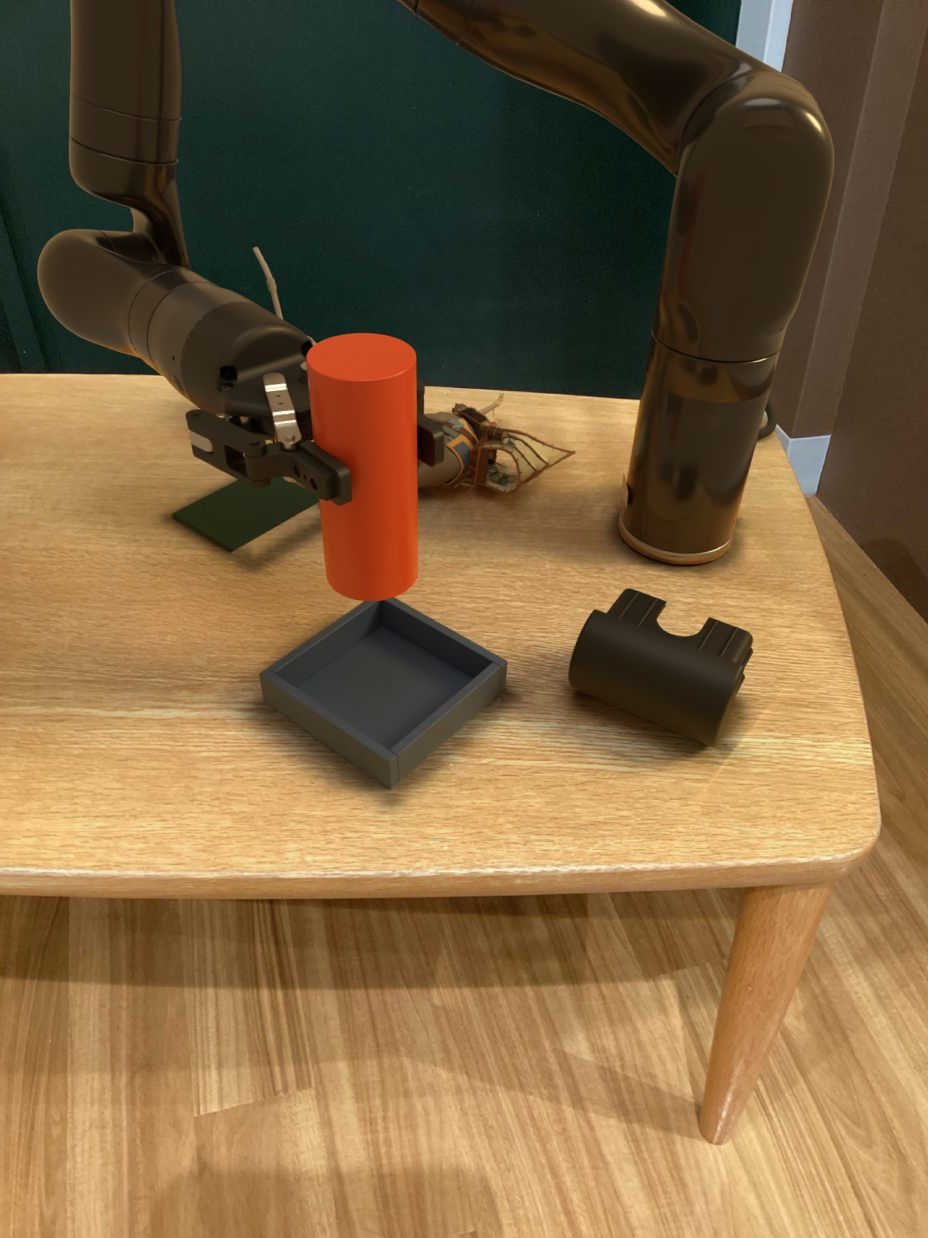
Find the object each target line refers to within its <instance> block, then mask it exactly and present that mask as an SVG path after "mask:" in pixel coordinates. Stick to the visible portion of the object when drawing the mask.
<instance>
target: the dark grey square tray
mask: <svg viewBox="0 0 928 1238" xmlns="http://www.w3.org/2000/svg"><path fill="white" fill-rule="evenodd" d="M507 671H508V660H507V659H505V658H503V657H501V656H500V655H497V654H496V653H494V652H492V651H491V650H489V649H487V648H485V647H483V646H482V645H480V644H478V643H476V642H474V641H473V640H471V639H469V638H468V637H466V636H464V635H462V634H460V633H459V632H456V631H455V630H453V629H451V628H450V627H448V626H446V625H444V624H443V623H440V622H438V621H437V620H435V619H433V618H431V617H430V616H428V615H426V614H424V613H423V612H421V611H419V610H417V609H415V608H414V607H412V606H410V605H409V604H407V603H405V602H403V601H401V600H400V599H398V598H396V597H393V598H390V599H386V600H381V601H361V603H359V604H358V605H357V606H355V607H353V608H352V609H351V610H349V611H347V612H346V613H345V614H343V615H342V616H341V617H339V618H338V619H336V620H335V621H333V622H331V623H330V624H329V625H327V626H326V627H324V628H323V629H321V630H320V631H319V632H317V633H316V634H314V635H312V636H311V637H309V638H308V639H307V640H305V641H304V642H303V643H301V644H300V645H298V646H296V647H295V648H294V649H292V650H291V651H289V652H287V654H285V655H284V656H282V657H281V658H279V659H278V660H276V661H275V662H274V663H272V664H270V665H269V666H267V668H265V669H263V670H262V671H260V672H259V673H258V676H259V678H258V679H259V683H260V688H261V689H260V690H261V695H262V700H263V703H264V704H266V705H267V706H269V707H270V708H272V709H273V710H275V711H276V712H277V713H278V714H280V715H281V716H283V717H285V718H286V719H287V720H289V721H291V722H292V723H293V724H294V725H296V726H297V727H299V728H301V729H302V730H304V731H305V732H306V733H308V735H311V736H312V737H314V738H315V739H316V740H318V741H319V742H321V743H322V744H324V745H325V746H326V747H328V748H329V749H331V750H332V751H334V752H335V753H336V754H338V755H339V756H341V757H342V758H344V759H345V760H346V761H348V762H350V763H351V764H352V765H353V766H355V767H357V768H358V769H359V770H360V771H362V772H364V773H365V774H367V775H368V776H369V777H371V778H372V779H374V780H375V781H377V782H378V783H379V784H381V785H382V786H384V787H385V788H387V789H388V790H389V791H392V790H393V789H394V788H396V786H398V785H399V784H401V782H402V781H403V780H404V779H405V778H407V777H408V776H409V775H410V774H411V773H412V772H413V771H415V770H416V769H417V768H418V767H419V766H420V765H422V763H424V762H425V761H426V760H427V759H428V758H429V757H431V755H433V754H434V753H435V752H436V751H437V750H438V749H440V748H441V747H442V746H443V745H444V744H445V743H446V742H447V741H448V740H450V739H451V738H452V737H453V736H454V735H455V734H456V733H457V732H458V731H460V730H461V729H462V728H463V727H464V726H465V725H466V724H468V723H469V722H470V721H471V720H472V719H473V718H474V717H475V716H477V715H478V714H479V713H480V712H482V710H483V709H484V708H485V707H487V706H488V705H489V704H490V703H491V702H492V701H493V700H495V699H496V698H497V697H499V695H500V694H501V693H502V692H504V690H506V687H507Z"/></svg>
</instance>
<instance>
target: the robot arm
mask: <svg viewBox="0 0 928 1238" xmlns="http://www.w3.org/2000/svg"><path fill="white" fill-rule="evenodd" d="M69 1H70V2H69V3H70V6H69V7H70V75H69V76H70V77H69V78H70V79H69V80H70V82H69V90H70V91H69V127H68V128H69V129H68V131H69V132H68V133H69V136H68V159H69V160H68V162H69V170H70V174H71V177H72V179H73V180H74V182H75V183H76V185H77V186H78V187H79V188H80V189H82V190H83V191H84V192H86V193H87V194H90V195H92V196H93V197H96V198H99V199H101V200H105V201H107V202H110V203H114V204H117V205H120V206H124V207H126V208H129V210H130V213H131V215H132V218H133V219H132V220H133V229H132V231H125V230H124V231H123V230H104V229H92V228H91V229H90V228H89V229H88V228H71V229H67V230H63V231H61V232H59V233H56V234H55V235H54V236H52V238H50V239H49V240H48V241H47V242H46V244H44V247H43V248H42V250H41V252H40V254H39V258H38V262H37V268H36V269H37V271H36V272H37V273H36V274H37V281H38V282H37V284H38V286H39V291H40V294H41V296H42V299H43V301H44V303H45V305H46V306H47V309H48V310H49V311H50V313H51V314H52V315H53V317H54V318H55V319H56V320H57V321H58V322H59V323H60V324H61V325H62V326H63V327H64V328H65V329H67V330H68V331H69V332H71V333H72V334H74V335H76V336H77V337H79V338H81V339H83V340H85V341H89V342H91V343H93V344H96V345H99V346H101V347H105V348H107V349H110V350H112V351H116V352H118V353H121V354H125V355H129V356H133V357H136V358H139V359H141V360H142V362H144V363H145V364H146V365H148V366H149V367H151V368H152V369H153V370H154V371H156V372H157V373H159V375H161V376H162V377H164V378H165V379H166V381H167V382H168V383H169V384H170V385H171V386H172V387H173V389H174V390H176V391H177V392H178V393H179V394H180V395H181V396H182V397H184V398H185V399H186V400H188V401H189V402H190V403H192V404H193V405H194V406H196V407H197V408H194V409H191V410H188V411H186V413H185V415H184V416H185V420H186V425H187V431H188V436H189V441H190V446H191V452H192V455H193V457H195V458H197V459H198V460H200V461H203V462H204V463H206V464H208V465H209V466H212V467H214V468H216V469H217V470H219V471H221V472H223V473H225V474H227V475H229V476H230V477H232V478H234V479H236V480H240V481H242V482H243V483H245V484H247V485H249V486H251V487H253V488H264V487H267V486H269V485H270V484H271V478H276V477H283V478H284V479H285V480H286V481H288V482H294V483H297V484H298V485H300V486H302V487H304V488H306V489H307V490H309V491H310V492H311V493H313V494H314V495H315V496H316V497H318V498H319V499H322V500H325V501H329V500H331V501H332V502H333V503H335V504H336V505H338V506H341V505H343V504H346V503H348V502H350V501H352V482H351V473H350V471H349V469H348V467H347V466H346V465H345V464H344V463H342V462H341V461H339V460H338V459H337V458H335V457H334V456H332V455H331V454H329V453H328V452H327V451H325V450H323V449H322V448H321V447H319V446H318V445H317V444H315V443H314V440H313V429H312V418H311V407H310V396H309V386H308V375H307V364H306V356H307V353H308V351H309V350H310V349H311V348H312V347H313V346H314V345H313V344H312V342H311V341H310V340H309V339H308V337H309V336H308V335H306V334H305V333H304V332H303V331H302V330H300V328H297V327H296V326H295V325H293V324H291V323H289V322H287V321H286V320H285V319H283V320H282V319H281V318H279V317H277V316H276V314H274V313H272V312H271V311H269V310H268V309H266V308H264V307H262V306H261V305H259V304H257V303H255V302H254V301H252V300H251V299H248V298H247V297H246V296H243V295H241V294H240V293H238V292H235V291H233V290H230V289H227V288H224V287H221V286H219V285H217V284H216V283H214V282H212V281H211V280H209V279H208V278H205V277H204V276H202V275H201V274H199V273H197V272H195V271H193V270H192V266H191V261H190V256H189V251H188V246H187V241H186V240H187V239H186V233H185V229H184V222H183V214H182V207H181V200H180V199H181V198H180V192H179V182H178V180H179V179H178V173H179V172H178V171H179V170H178V169H179V161H180V160H179V158H180V148H181V138H182V137H181V136H182V124H183V111H184V96H185V95H184V91H185V76H184V75H185V72H184V71H185V69H184V55H183V54H184V52H183V43H182V42H183V41H182V35H181V28H180V22H179V21H180V20H179V16H178V7H177V0H69ZM395 1H396V2H397V3H398V4H400V5H401V6H402V7H403V8H404V9H406V10H407V11H408V12H409V13H411V14H412V15H413V16H416V17H417V18H418V19H419V20H421V22H423V23H425V25H427V26H429V27H430V28H432V29H433V30H434V31H436V32H437V33H438V34H440V35H442V36H443V37H444V38H445V39H447V40H449V42H451V43H453V45H456V47H458V48H459V49H461V50H463V51H464V52H465V53H467V54H468V55H470V56H471V57H473V58H475V59H477V60H478V61H480V62H482V63H483V64H485V65H487V66H489V67H491V68H493V69H495V70H497V71H499V72H501V73H503V74H504V75H507V76H509V77H511V78H513V79H516V80H518V81H521V82H522V83H525V84H527V85H530V86H532V87H534V88H536V89H539V90H542V91H544V92H546V93H549V94H552V95H555V96H557V97H560V98H561V99H562V98H563V99H565V100H568V101H570V102H573V103H575V104H577V105H580V106H582V107H584V108H586V109H588V110H589V111H592V112H594V113H596V114H597V115H599V116H600V117H602V118H604V119H606V120H607V121H609V122H610V123H611V124H613V125H614V126H615V127H617V128H618V129H620V130H621V131H622V132H623V133H625V134H626V135H628V137H630V139H633V140H634V142H636V143H638V144H639V145H640V146H641V147H642V148H643V149H645V150H646V151H647V153H649V154H650V155H651V156H653V157H654V158H655V159H656V160H657V161H659V163H661V165H663V166H664V167H665V168H666V169H667V170H668V171H669V172H670V173H671V174H672V175H673V176H674V177H675V178H676V179H675V184H674V185H675V186H674V191H673V198H672V205H671V211H670V217H669V223H668V228H667V234H666V242H665V247H664V252H663V253H664V254H663V259H662V266H661V273H660V277H659V281H658V287H657V292H656V297H655V302H654V310H653V315H652V316H653V317H652V322H651V329H650V335H649V341H648V347H647V354H646V360H645V368H644V373H643V380H642V386H641V392H640V396H639V397H640V398H639V402H638V403H639V404H638V409H637V414H636V415H637V416H636V422H635V427H634V428H635V429H634V432H633V433H634V434H633V439H632V446H631V451H630V458H629V464H628V471H627V477H625V476H626V475H625V472H622V473H623V474H622V479H621V480H622V481H621V493H622V497H623V499H622V506H621V509H620V511H619V516H618V517H619V518H618V522H617V527H618V532H619V535H620V536H621V538H622V539H623V541H624V542H625V543H626V544H627V545H628V546H629V547H630V548H632V549H633V550H635V551H636V552H637V553H640V554H641V555H643V556H645V557H647V558H650V559H653V560H656V561H658V562H662V563H668V564H674V565H699V564H704V563H709V562H712V561H714V560H717V559H718V558H720V557H722V556H723V555H725V554H726V553H727V552H728V551H729V549H730V547H731V545H732V543H733V539H734V536H735V535H734V534H735V526H736V522H737V518H738V516H739V515H738V514H739V510H740V506H741V505H742V501H743V496H744V492H745V488H746V485H747V480H748V477H749V474H750V473H749V472H750V469H751V466H752V462H753V457H754V454H755V450H756V446H757V442H758V439H762V438H763V439H764V438H766V437H768V436H770V435H772V433H773V432H774V431H775V430H776V428H777V425H778V417H777V411H776V408H775V405H774V404H773V402H772V400H771V399H770V397H769V396H770V392H771V388H772V384H773V380H774V375H775V372H776V368H777V364H778V361H779V357H780V354H781V349H782V346H783V342H784V339H785V335H786V332H787V329H788V326H789V323H790V321H791V320H792V318H793V317H794V315H795V314H796V310H797V309H798V306H799V303H800V301H801V298H802V294H803V290H804V287H805V284H806V280H807V276H808V273H809V269H810V266H811V263H812V259H813V257H814V256H813V255H814V252H815V249H816V246H817V242H818V239H819V235H820V232H821V228H822V224H823V222H824V218H825V213H826V210H827V205H828V201H829V198H830V194H831V188H832V184H833V178H834V171H835V148H834V142H833V138H832V135H831V132H830V130H829V127H828V125H827V122H826V119H825V118H824V115H823V113H822V111H821V108H820V106H819V104H818V102H817V101H816V99H815V98H814V96H813V94H812V93H811V92H810V91H809V90H808V89H806V87H805V86H804V85H803V84H802V83H800V82H799V81H798V80H796V79H794V78H792V77H791V76H789V75H787V74H785V73H784V72H782V71H781V70H778V69H776V68H775V67H772V66H771V65H769V64H767V63H765V62H764V61H761V60H760V59H758V58H756V57H755V56H753V55H750V54H749V53H747V52H745V51H744V50H742V49H740V48H738V47H737V46H735V45H733V44H731V43H729V42H728V41H726V40H725V39H724V38H721V37H720V36H719V35H717V34H715V33H713V32H712V31H710V30H709V29H707V28H706V27H704V26H702V25H701V24H699V23H697V22H695V21H694V20H692V19H691V18H690V17H688V16H687V15H685V14H684V13H683V12H680V11H679V10H678V9H677V8H675V6H673V5H671V3H668V1H666V0H395ZM307 336H308V337H307ZM416 382H417V459H419V460H420V461H422V462H423V463H425V464H427V465H428V466H430V467H433V466H436V465H438V464H440V463H443V461H444V441H445V439H444V429H443V427H442V426H441V425H440V424H438V423H436V422H434V421H433V420H431V419H430V418H428V417H426V416H425V414H426V413H425V393H426V385H425V383H424V382H423V381H422V380H421V379H419V378H418V377H417V376H416ZM765 415H766V418H767V421H766V425H765V426H764V427H762V424H763V419H764V416H765ZM761 427H762V428H761ZM267 441H270V443H267ZM420 461H419V462H420Z"/></svg>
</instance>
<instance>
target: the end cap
mask: <svg viewBox="0 0 928 1238" xmlns="http://www.w3.org/2000/svg"><path fill="white" fill-rule="evenodd" d="M667 602H668V601H667V600H664V599H662V598H659V597H656V596H653V595H651V594H648V593H645V592H643V591H641V590H637V589H635V588H631V587H629V588H628V587H627V588H625V589H623V591H622V592H621V593H620V594H619V596H618V597H617V598H616V600H615V601H614V602H613V603H612V605H611V606H610V608H609V609H608V610H607V612H605V611H602V610H599V609H593V610H592V611H591V613H590V614H589V615H588V617H587V619H586V620H585V622H584V624H583V626H582V628H581V630H580V632H579V634H578V636H577V639H576V641H575V644H574V647H573V649H572V653H571V657H570V660H569V665H568V671H567V672H568V673H567V679H568V683H569V686H570V687H571V688H573V689H574V690H577V691H579V692H581V693H583V694H586V695H589V696H591V697H592V698H595V699H597V700H601V701H603V702H605V703H608V704H610V705H612V706H614V707H617V708H619V709H621V710H623V711H627V712H629V713H631V714H634V715H635V716H639V717H641V718H643V719H646V720H648V721H650V722H652V723H655V724H657V725H660V726H662V727H665V728H667V729H669V730H671V731H674V732H676V733H679V734H681V735H683V736H685V737H688V738H690V739H693V740H695V741H698V742H700V743H702V744H704V745H707V746H709V747H715V746H717V745H718V744H719V743H720V741H721V740H722V739H723V736H724V734H725V733H726V730H727V726H728V723H729V719H730V717H731V714H732V710H733V707H734V704H735V700H736V697H737V694H738V692H739V691H740V689H741V687H742V685H743V684H744V681H745V680H746V676H745V673H744V672H745V668H746V666H747V665H748V663H749V661H750V659H751V657H752V656H753V654H754V649H753V648H752V647H753V643H754V637H753V635H752V633H750V631H748V630H746V629H743V628H741V627H738V626H735V625H732V624H729V623H727V622H724V621H722V620H720V619H717V618H715V617H714V618H713V617H710V616H708V618H707V619H706V621H705V623H704V624H703V626H702V627H701V628H700V630H699V631H698V632H697V633H694V634H691V635H676V634H673V633H671V632H668V631H666V630H665V629H664V628H663V627H662V626H660V624H659V622H658V618H659V617H660V615H661V614H662V612H663V611H664V610H665V608H666V607H667Z"/></svg>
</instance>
